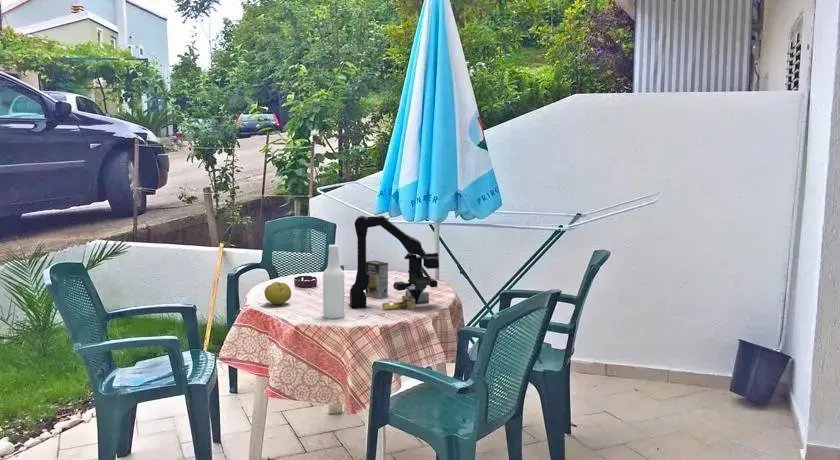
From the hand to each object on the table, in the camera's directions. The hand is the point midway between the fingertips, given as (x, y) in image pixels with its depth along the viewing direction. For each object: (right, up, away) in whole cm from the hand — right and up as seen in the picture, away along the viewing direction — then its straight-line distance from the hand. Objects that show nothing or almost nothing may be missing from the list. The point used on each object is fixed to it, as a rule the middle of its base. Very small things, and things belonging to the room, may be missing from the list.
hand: (415, 303), depth 321 cm
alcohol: (-34, -4, -17) cm, 38 cm away
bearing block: (-3, -2, -1) cm, 4 cm away
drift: (-3, -2, -1) cm, 4 cm away
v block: (+1, 0, +10) cm, 10 cm away
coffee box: (-18, +1, +20) cm, 27 cm away
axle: (-10, -2, -4) cm, 11 cm away
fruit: (-61, -1, +2) cm, 61 cm away
